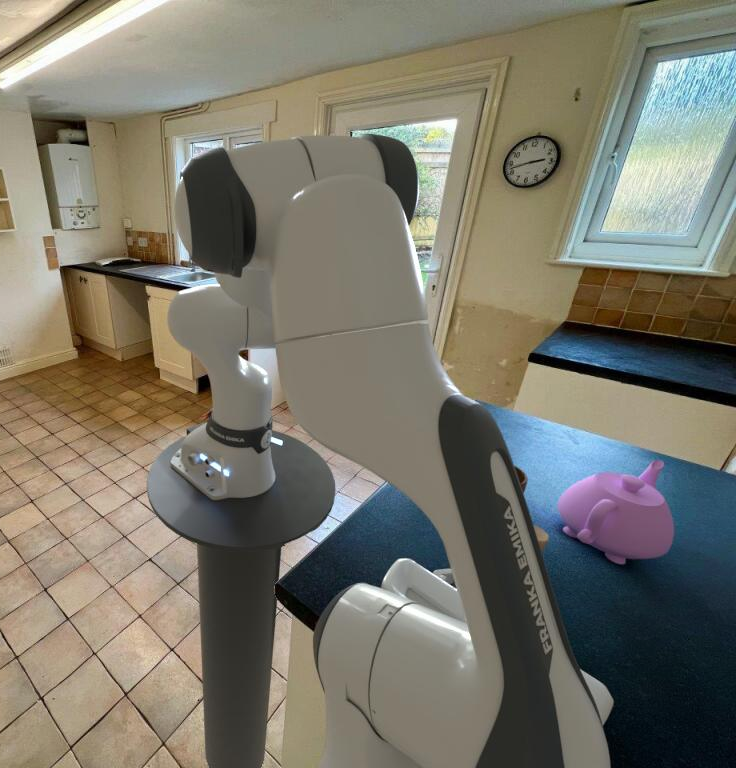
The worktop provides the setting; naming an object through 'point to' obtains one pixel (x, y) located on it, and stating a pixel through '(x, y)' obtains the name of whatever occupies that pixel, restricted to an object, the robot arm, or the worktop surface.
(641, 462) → the worktop surface
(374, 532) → the worktop surface
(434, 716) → the robot arm
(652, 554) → the teapot
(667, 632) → the worktop surface
